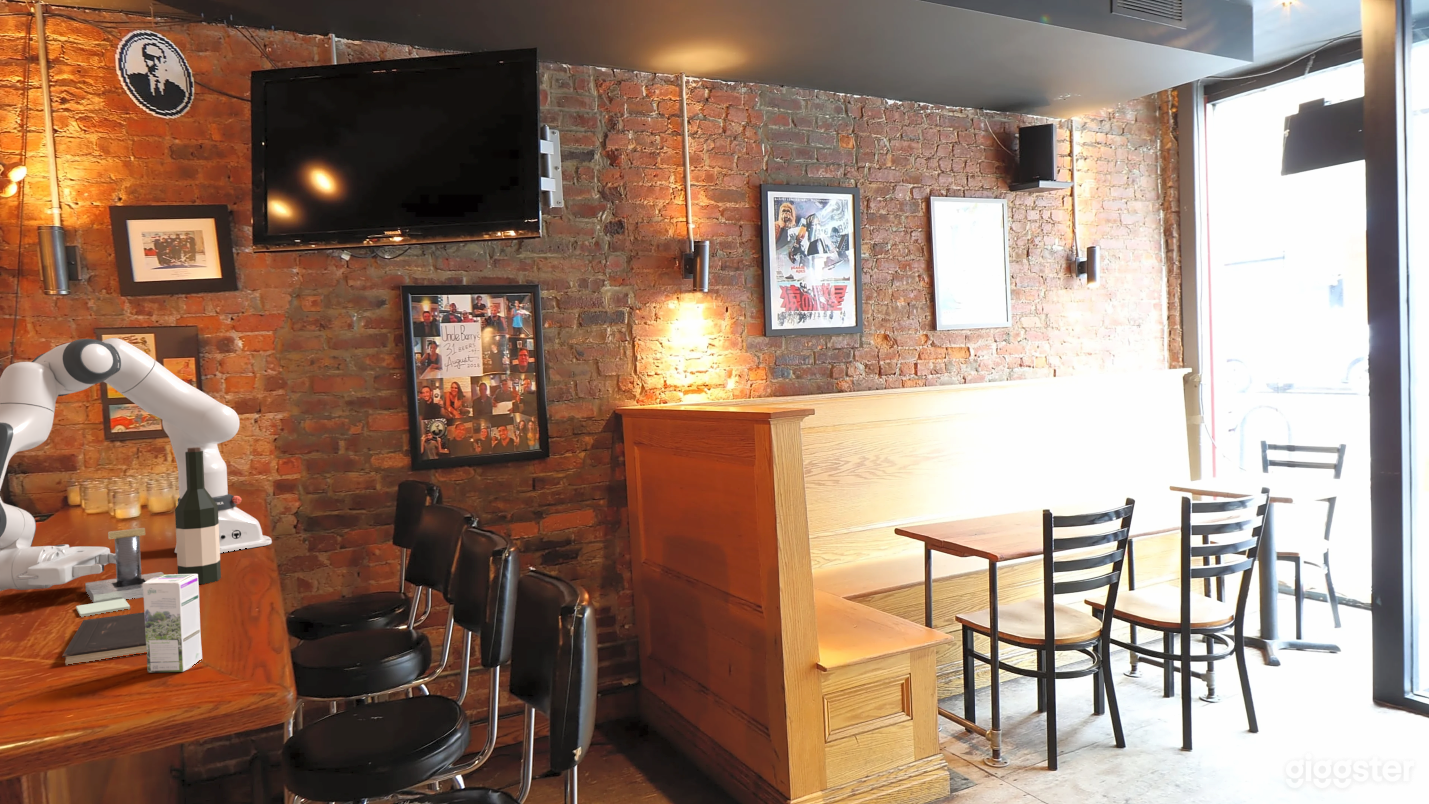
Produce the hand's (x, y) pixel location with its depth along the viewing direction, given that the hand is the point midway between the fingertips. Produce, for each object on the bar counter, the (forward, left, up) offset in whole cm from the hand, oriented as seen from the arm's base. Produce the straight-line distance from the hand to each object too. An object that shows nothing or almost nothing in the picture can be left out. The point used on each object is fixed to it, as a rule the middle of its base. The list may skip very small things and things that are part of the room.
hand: (113, 563), depth 186 cm
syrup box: (-1, +64, -7) cm, 64 cm away
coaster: (+3, +14, -6) cm, 15 cm away
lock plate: (-3, +2, -6) cm, 7 cm away
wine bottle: (-16, +1, -7) cm, 17 cm away
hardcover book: (+3, +40, -7) cm, 41 cm away
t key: (-3, +2, -6) cm, 7 cm away
